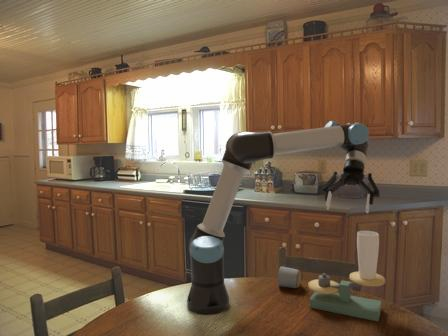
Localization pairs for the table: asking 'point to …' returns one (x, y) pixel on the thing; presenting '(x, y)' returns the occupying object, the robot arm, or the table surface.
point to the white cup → (367, 253)
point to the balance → (345, 296)
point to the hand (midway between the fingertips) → (346, 209)
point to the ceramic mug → (289, 277)
